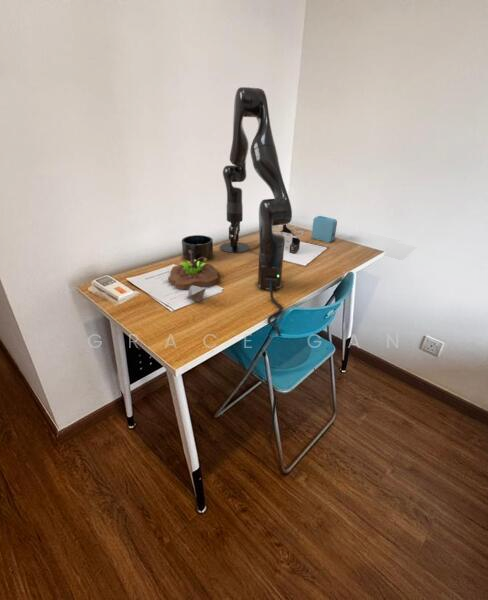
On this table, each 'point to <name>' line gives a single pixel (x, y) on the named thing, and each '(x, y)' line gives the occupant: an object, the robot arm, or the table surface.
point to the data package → (324, 228)
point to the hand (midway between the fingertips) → (234, 243)
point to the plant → (193, 274)
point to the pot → (197, 247)
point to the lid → (237, 249)
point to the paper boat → (196, 293)
